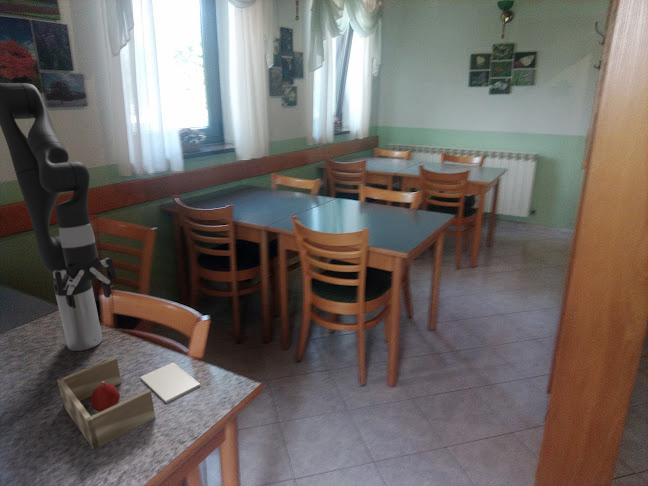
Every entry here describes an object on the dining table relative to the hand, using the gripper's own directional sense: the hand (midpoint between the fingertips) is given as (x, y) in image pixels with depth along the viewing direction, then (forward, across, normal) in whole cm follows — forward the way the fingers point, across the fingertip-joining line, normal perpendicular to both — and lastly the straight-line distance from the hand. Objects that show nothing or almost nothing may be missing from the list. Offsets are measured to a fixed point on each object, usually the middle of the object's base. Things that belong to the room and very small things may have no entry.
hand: (90, 302), depth 115 cm
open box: (+19, +8, +22) cm, 30 cm away
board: (+19, -7, +22) cm, 30 cm away
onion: (+19, +8, +22) cm, 30 cm away
